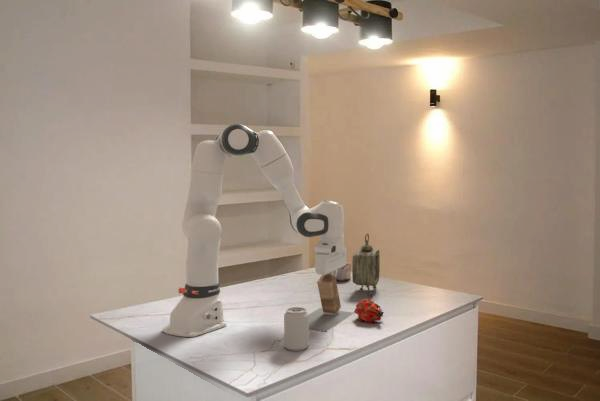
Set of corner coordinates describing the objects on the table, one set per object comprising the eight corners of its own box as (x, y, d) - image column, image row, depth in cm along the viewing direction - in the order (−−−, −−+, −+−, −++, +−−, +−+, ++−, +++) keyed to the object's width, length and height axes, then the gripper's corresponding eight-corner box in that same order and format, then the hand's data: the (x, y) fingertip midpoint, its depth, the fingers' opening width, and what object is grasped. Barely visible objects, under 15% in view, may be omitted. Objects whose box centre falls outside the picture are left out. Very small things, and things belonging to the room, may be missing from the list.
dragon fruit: (357, 321, 204) (381, 334, 194) (344, 311, 199) (368, 324, 189) (369, 301, 205) (393, 313, 196) (357, 290, 200) (381, 302, 191)
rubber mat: (326, 332, 186) (326, 331, 186) (289, 326, 193) (289, 325, 193) (354, 313, 207) (354, 312, 207) (320, 308, 214) (320, 307, 214)
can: (308, 343, 176) (308, 305, 175) (309, 351, 169) (309, 312, 168) (284, 343, 176) (283, 306, 175) (284, 352, 168) (284, 313, 167)
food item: (354, 279, 262) (354, 258, 262) (342, 282, 257) (342, 261, 256) (332, 275, 272) (332, 255, 271) (320, 278, 266) (320, 257, 265)
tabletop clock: (373, 296, 231) (373, 236, 229) (351, 295, 234) (351, 235, 232) (379, 288, 245) (379, 231, 243) (359, 287, 248) (359, 230, 245)
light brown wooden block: (335, 315, 204) (329, 283, 198) (323, 313, 206) (317, 281, 200) (341, 307, 208) (335, 275, 202) (328, 305, 210) (322, 274, 204)
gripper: (335, 240, 215) (335, 275, 217) (311, 248, 197) (311, 287, 199) (351, 241, 213) (350, 277, 214) (328, 249, 195) (328, 289, 196)
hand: (331, 282), depth 206 cm, fingers closed
